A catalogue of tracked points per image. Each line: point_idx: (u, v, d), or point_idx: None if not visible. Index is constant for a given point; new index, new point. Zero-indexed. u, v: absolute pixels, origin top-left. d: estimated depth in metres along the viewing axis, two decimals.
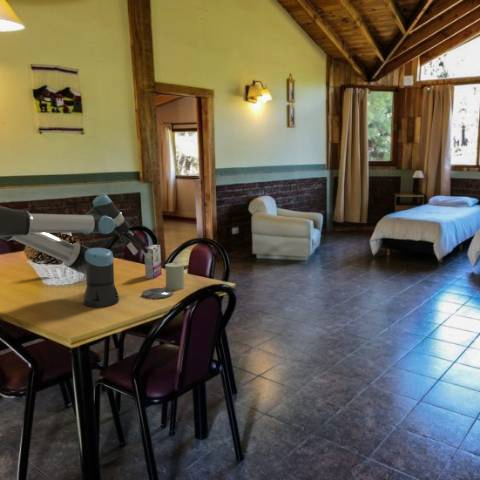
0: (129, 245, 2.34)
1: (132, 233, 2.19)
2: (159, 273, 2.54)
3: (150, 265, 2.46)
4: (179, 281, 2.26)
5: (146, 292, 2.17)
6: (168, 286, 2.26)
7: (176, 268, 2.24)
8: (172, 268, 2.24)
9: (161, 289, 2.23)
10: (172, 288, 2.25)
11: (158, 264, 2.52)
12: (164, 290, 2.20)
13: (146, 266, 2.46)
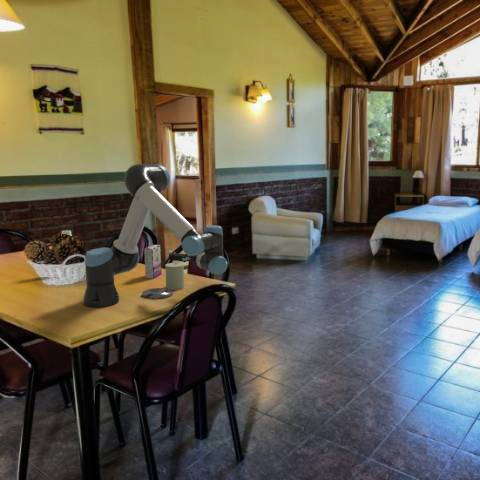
0: None
1: (183, 259, 2.02)
2: (159, 273, 2.54)
3: (150, 265, 2.46)
4: (179, 281, 2.26)
5: (146, 292, 2.17)
6: (168, 286, 2.26)
7: (176, 268, 2.24)
8: (172, 268, 2.24)
9: (161, 289, 2.23)
10: (172, 288, 2.25)
11: (158, 264, 2.52)
12: (164, 290, 2.20)
13: (146, 266, 2.46)
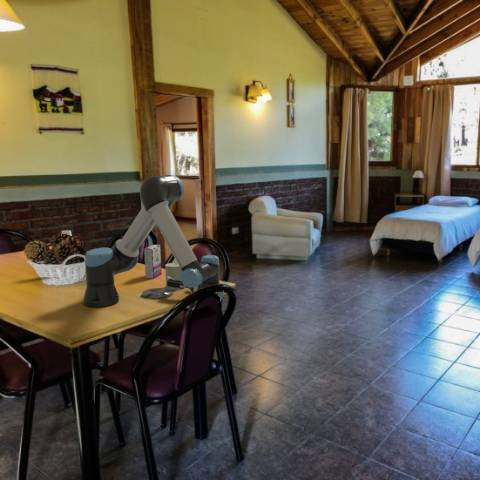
0: None
1: (180, 286, 2.07)
2: (159, 273, 2.54)
3: (150, 265, 2.46)
4: None
5: (146, 292, 2.17)
6: (168, 286, 2.26)
7: (176, 268, 2.24)
8: (172, 268, 2.24)
9: (161, 289, 2.23)
10: (172, 288, 2.25)
11: (158, 264, 2.52)
12: (164, 290, 2.20)
13: (146, 266, 2.46)
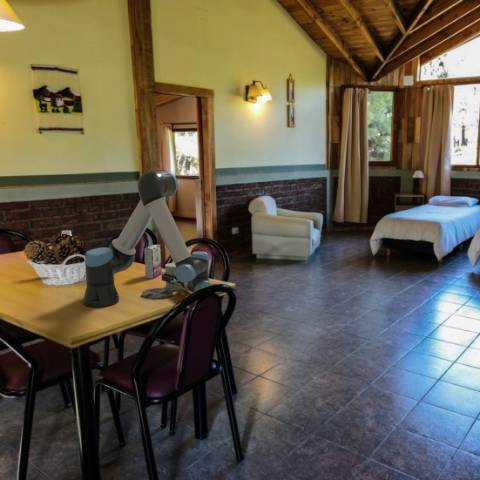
0: None
1: (171, 281, 2.16)
2: (159, 273, 2.54)
3: (150, 265, 2.46)
4: None
5: (146, 292, 2.17)
6: (168, 286, 2.26)
7: (176, 268, 2.24)
8: (172, 268, 2.24)
9: (161, 289, 2.23)
10: (172, 288, 2.25)
11: (158, 264, 2.52)
12: (164, 290, 2.20)
13: (146, 266, 2.46)
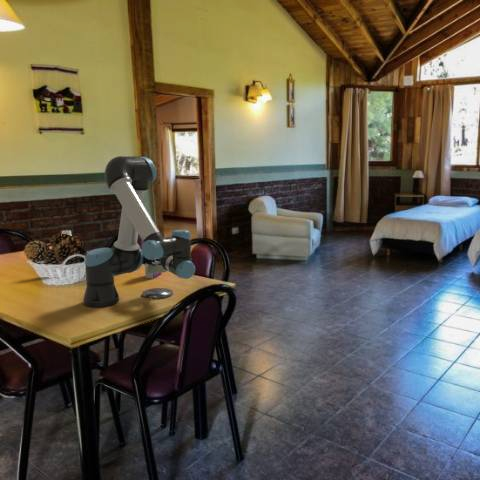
0: None
1: (152, 263, 2.02)
2: (159, 273, 2.54)
3: None
4: None
5: (146, 292, 2.17)
6: (150, 269, 2.13)
7: None
8: None
9: (161, 289, 2.23)
10: (154, 271, 2.12)
11: None
12: (164, 290, 2.20)
13: (146, 266, 2.46)
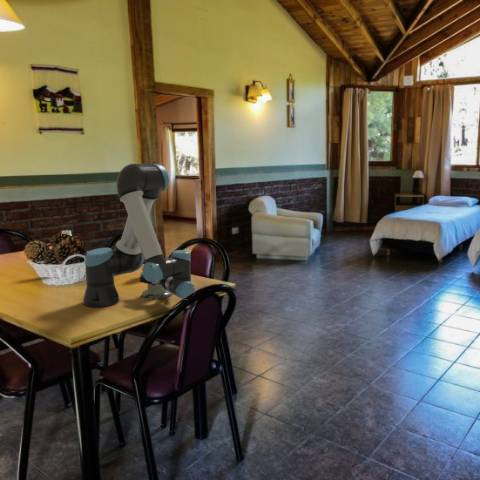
0: None
1: (152, 282, 2.03)
2: None
3: None
4: (162, 286, 2.13)
5: (146, 292, 2.17)
6: (150, 291, 2.14)
7: None
8: None
9: None
10: (154, 293, 2.13)
11: None
12: None
13: None
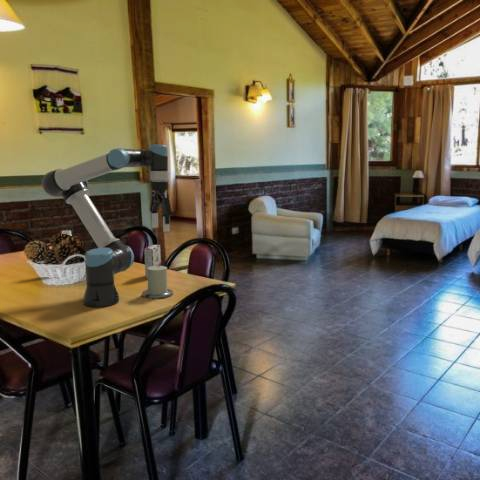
0: (154, 215, 2.10)
1: (166, 195, 1.98)
2: None
3: (150, 265, 2.46)
4: (162, 286, 2.13)
5: (146, 292, 2.17)
6: (149, 290, 2.14)
7: (158, 271, 2.12)
8: (154, 271, 2.11)
9: None
10: (154, 293, 2.13)
11: (158, 264, 2.52)
12: None
13: (146, 266, 2.46)
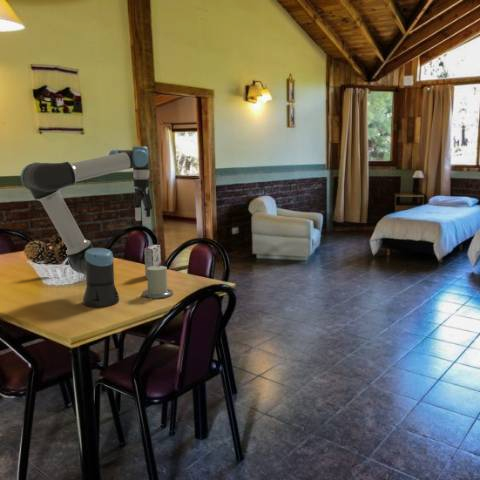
0: (137, 209, 2.35)
1: (147, 191, 2.22)
2: None
3: (150, 265, 2.46)
4: (161, 286, 2.13)
5: (146, 292, 2.17)
6: (149, 291, 2.14)
7: (158, 271, 2.12)
8: (154, 271, 2.11)
9: None
10: (154, 293, 2.13)
11: (158, 264, 2.52)
12: None
13: (146, 266, 2.46)
